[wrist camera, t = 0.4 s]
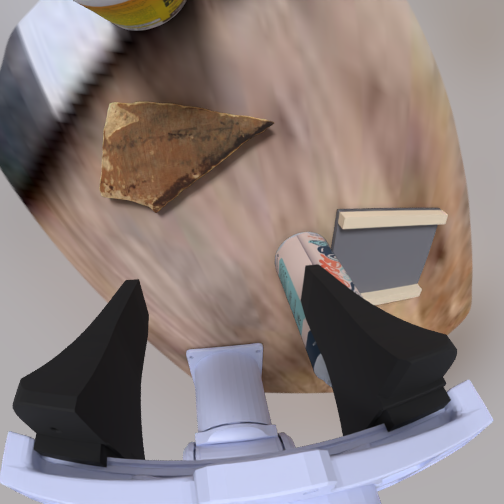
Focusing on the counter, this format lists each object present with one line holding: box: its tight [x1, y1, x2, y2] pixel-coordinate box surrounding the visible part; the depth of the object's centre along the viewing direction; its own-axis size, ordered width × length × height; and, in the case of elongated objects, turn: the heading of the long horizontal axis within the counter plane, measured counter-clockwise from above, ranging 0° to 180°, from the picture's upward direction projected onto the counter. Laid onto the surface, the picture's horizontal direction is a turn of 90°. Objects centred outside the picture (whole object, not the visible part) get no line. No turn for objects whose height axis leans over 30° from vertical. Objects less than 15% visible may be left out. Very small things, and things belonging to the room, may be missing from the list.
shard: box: [99, 102, 274, 213], centre depth 19 cm, size 11×8×2 cm
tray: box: [331, 208, 448, 305], centre depth 26 cm, size 10×12×2 cm
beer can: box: [275, 232, 363, 387], centre depth 20 cm, size 5×5×12 cm
